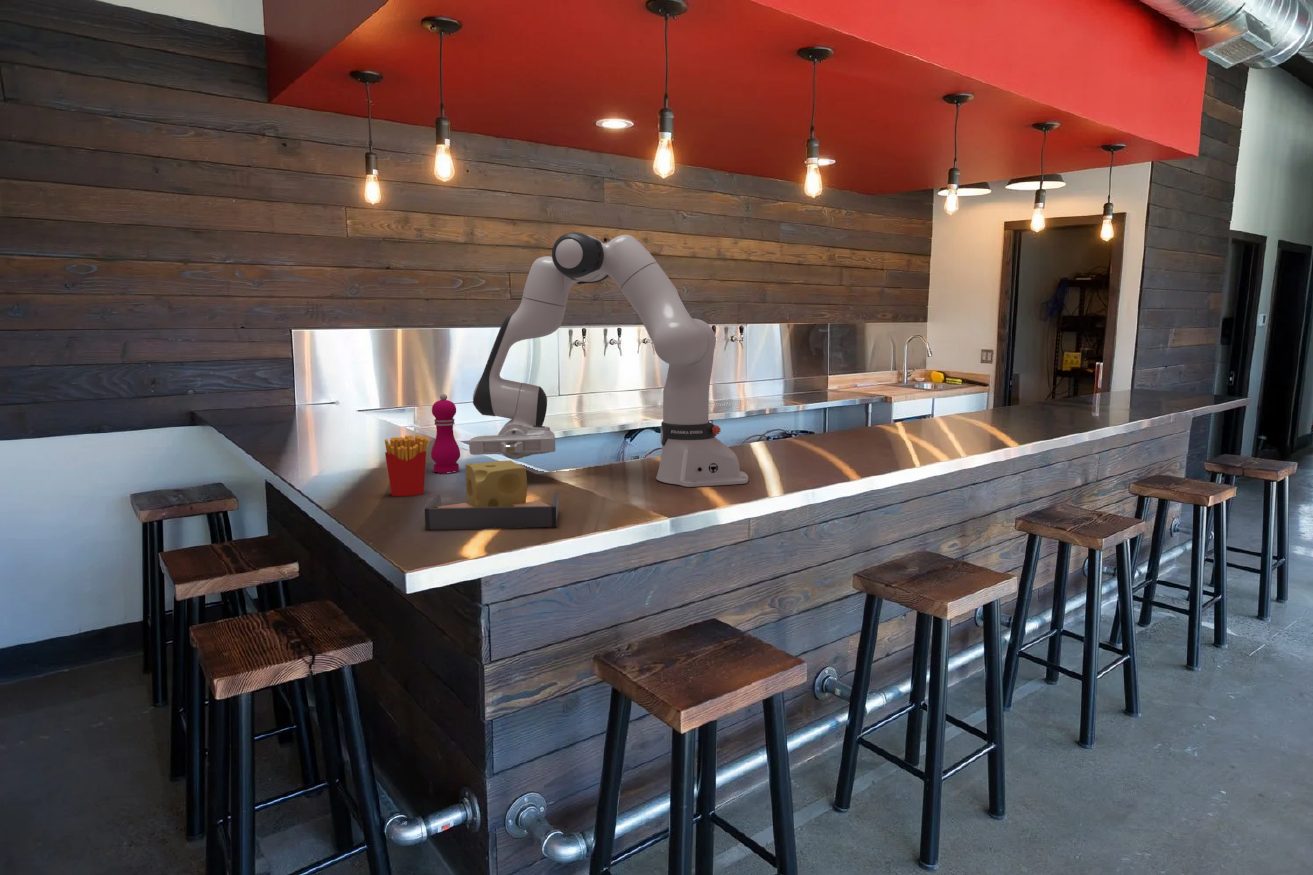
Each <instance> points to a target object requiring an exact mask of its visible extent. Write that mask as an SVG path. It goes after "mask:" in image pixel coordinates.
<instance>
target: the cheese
mask: <svg viewBox="0 0 1313 875" xmlns="http://www.w3.org/2000/svg"><path fill="white" fill-rule="evenodd" d="M527 478H528V477H527V470H526V467H524V466H523V465H519V464H517V463H515V462H514V461H513V460H498V461H489V462H479V463H478V462H475V463H474V462H472V463H465V483H466V484H465V487H466V491H465V493H466V503H467V504H469V505H471V506H473V507H512V504H519V503H527V496H528V495H527V494H528V479H527Z"/></svg>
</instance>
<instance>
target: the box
mask: <svg viewBox="0 0 1313 875" xmlns="http://www.w3.org/2000/svg"><path fill="white" fill-rule="evenodd" d="M441 496H442V495H441V494H436V495H435V496H434V497H433V498H432V499H431V501H430V502H429V503H428V505H426V507H425V508H424V527H425V528H424V529H425V531H431V530H433V531H436V530H441V531H442V530H478V529H479V530H481V529H483V530H486V529H487V530H489V529H490V530H491V529H495V530H496V529H518V528H517V527H550V528H557V526H558V519H559V518H558V517H559V512H558V511H559V508H560V507H559V492H554V493H553V497H552V498H553V499H552V504H551V505H550V506H521V507H462V508H437V507H439V506H442V497H441ZM557 518H558V519H557ZM556 525H557V526H556Z"/></svg>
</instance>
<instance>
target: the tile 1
mask: <svg viewBox="0 0 1313 875" xmlns="http://www.w3.org/2000/svg"><path fill="white" fill-rule="evenodd" d="M462 507H473V506H471V505H469V504H467V502H462V503H461V502H460V503H454V504H448V505H441V506H439V507H437V508H462Z"/></svg>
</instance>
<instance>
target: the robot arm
mask: <svg viewBox="0 0 1313 875" xmlns="http://www.w3.org/2000/svg"><path fill="white" fill-rule="evenodd" d="M528 272H529V273H528V275H527V278H526V281H525V285H524V287H523V288H524V289H523V292H522V297H521V301H520V304H519V306H518V307H517V310H516V311H515V312H514V313H513V314H509V315H507V316H506V317H505V318H504V320H503V321H502V324H501V326H500V328H499V330H498V333H497V335H496V338H495V341H494V343H493V346H492V348H491V350H490V354H489V356H488V359H487V362H486V365H485V367H484V370H483V372H482V374H481V377H480V378H479V381H478V382H477V384H476V385H475V388H474V391H473V394H472V405H473V406H474V408H475V409H476V410H477V411H478V413H480V414H481V415H482V416H486V417H498V418H504V419H508V420H509V421H506V423H505V424H504V425H503V427H502V428H501V429H500V430H499V432H498V434H497V435H495V434H494V435H480V436H479V435H477V436H474V437H472V438H470V439H469V441H468V448H469V453H470V455H472V456H473V455H475V456H476V455H477V456H479V455H480V456H481V455H503V456H505V458H508V459H510V460H519V459H522V458H524V457H525V458H527V457H530V456H533V455H541V454H542V455H543V454H544V455H545V454H549V453H554V452H556V435H555V433H554V432H553V431H552V430H551V428H550V426H546V425H545V426H544V425H543V424H544V422H545V419H546V415H547V414H546V413H547V409H548V396H547V394H546V393H545V391H544V389H543V388H542V387H541V386H539V385H535V384H531V383H526V382H520V381H514V380H509V379H505V378H502V377H501V376H500V374H501V372H502V369H503V366H504V364H505V361H506V359H507V357H508V354H509V350H510V349H511V347H512V346H513V345H514V344H516V343H518V342H521V341H525V340H531V339H539V338H542V337H547V336H549V335H552V334H553V333H555V332H556V331H557V330H558V329H559V328H560V327H561V325H562V323H563V320H564V316H565V313H566V309H567V303H568V300H569V299H568V298H569V295H570V294H569V293H570V291H571V289H572V287H573V286H574V285H575V284H577V285H583V284H584V285H585V284H596V283H599V282H602V281H604V280H607V278H609V277H610V278H611V279H612V281H613V282H614V283H615V284H616V286H617V288H619V290H620V292H621V293H622V294H623V295H624V298H626V300H627V301H628V303H629V304H630V305H631V307H632V308H633V310H634V311H635V312H636V315H638V317H639V318H640V321H641V322H642V323H643V326H644V328H645V330H646V332H647V335H648V336H649V338H650V340H651V342H652V344H653V347H654V351H655V354H656V355H657V356H658V358H659V359H660V360H662V361H663V362H664V363H666V364H668V368H667V374H666V380H665V383H664V384H665V385H664V387H663V390H662V391H663V392H662V398H663V399H662V400H663V402H662V421H661V424H660V425H661V426H660V444H661V454H660V460H659V466H658V469H657V470H658V471H657V474H656V477H655V479H656V480H657V481H659V482H662V483H665V484H671V485H679V486H682V487H686V488H695V487H712V486H713V487H714V486H726V485H727V486H729V485H730V486H731V485H743V484H747V483H748V482H749V476H748V474H747V473H746V472H744V471H742V470H740V469H741V468H740V463H739V459H738V455H737V454H736V453H735V452H734V451H733V449H731V448H730V447H728V446H727V445H726V444H725V443H724V442H722V441H721V440H720V439H719V438H718V437H716V436H717V435H719V434H720V433H721V431H722V430H721V427H720V426H719V425H717V424H716V425H715V424H714V423H712V422H710V421H709V410H710V409H709V406H710V404H709V403H710V400H709V399H710V395H709V394H710V383H711V378H712V373H713V372H712V370H713V363H714V357H715V356H714V354H715V349H716V348H715V347H716V345H717V344H716V343H717V337H716V333H715V331H714V330H713V328H712V327H711V326H710V325H709V324H708V323H707V322H706V321H704V320H701V319H699V318H692V316H691V315H690V314H689V312H688V311H687V309H686V307H685V305H684V303H683V301H682V299H681V297H680V295H679V292H678V291H679V290H677V288H676V286H675V285H674V283H673V282H672V281H671V280H670V278H669V276H668V275H667V273H666V272H665V271H664V270H663V268H662V267H661V266H660V264H659V263H658V262H657V260H656V259H655V257H653V255H652V254H651V253H650V252H649V250H647V248H646V247H644V245H643V244H642V243H641V242H640V241H639V240H638V239H636V238H635V237H634V236H633V235H629V234H621V235H617V236H615V237H614V238H612V239H611V240H610V241H607V242H604V241H602V240H600V239H598V238H596V237H595V236H592V235H589V234H585V233H583V232H576V231H575V232H568V233H565V234H563V235H561V236H559V237H558V238H557V239H556V241H555V242H554V244H553V246H552V251H551V256H550V255H549V256H546V255H545V256H540V257H538V258H537V259H535V260H534V261H533V262H532V265H531V267H530V270H529V271H528Z"/></svg>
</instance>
